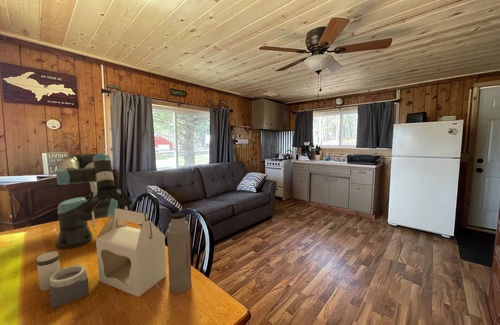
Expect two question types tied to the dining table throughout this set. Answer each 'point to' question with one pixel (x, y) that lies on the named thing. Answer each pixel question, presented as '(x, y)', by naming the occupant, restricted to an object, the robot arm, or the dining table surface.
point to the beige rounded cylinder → (47, 268)
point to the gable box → (131, 253)
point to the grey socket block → (68, 285)
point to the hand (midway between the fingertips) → (111, 222)
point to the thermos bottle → (179, 254)
